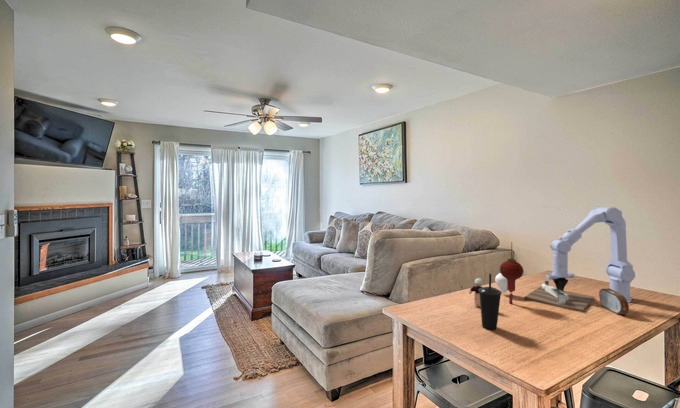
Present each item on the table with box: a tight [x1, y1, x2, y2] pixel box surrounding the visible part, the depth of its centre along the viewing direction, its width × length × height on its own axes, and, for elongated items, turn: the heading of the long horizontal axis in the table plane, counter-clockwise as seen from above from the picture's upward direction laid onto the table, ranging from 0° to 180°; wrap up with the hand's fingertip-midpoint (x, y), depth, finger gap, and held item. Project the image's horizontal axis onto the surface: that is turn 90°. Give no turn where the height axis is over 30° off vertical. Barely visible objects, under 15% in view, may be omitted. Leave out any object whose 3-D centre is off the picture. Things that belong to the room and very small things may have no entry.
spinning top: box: [494, 272, 508, 295], centre depth 152 cm, size 8×8×12 cm
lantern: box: [499, 243, 524, 305], centre depth 139 cm, size 10×10×30 cm
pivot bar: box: [541, 283, 568, 301], centre depth 149 cm, size 18×4×2 cm, turn 172°
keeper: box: [551, 288, 566, 305], centre depth 141 cm, size 10×2×4 cm, turn 162°
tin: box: [598, 287, 630, 316], centre depth 132 cm, size 15×3×8 cm, turn 168°
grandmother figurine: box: [468, 277, 484, 309], centre depth 135 cm, size 8×4×13 cm, turn 71°
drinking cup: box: [479, 272, 503, 331], centre depth 114 cm, size 8×8×20 cm
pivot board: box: [523, 280, 595, 313], centre depth 146 cm, size 26×22×6 cm
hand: (559, 293), depth 149 cm, fingers closed, pressing on pivot bar
